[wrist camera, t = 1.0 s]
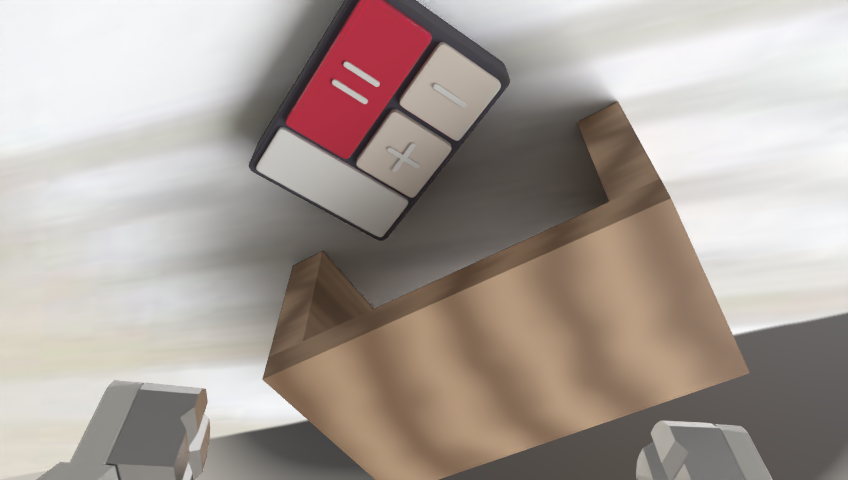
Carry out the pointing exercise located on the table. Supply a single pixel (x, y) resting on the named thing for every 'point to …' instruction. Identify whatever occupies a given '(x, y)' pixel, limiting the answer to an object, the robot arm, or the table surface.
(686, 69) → the table surface
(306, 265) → the monitor riser
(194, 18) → the table surface
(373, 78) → the calculator
